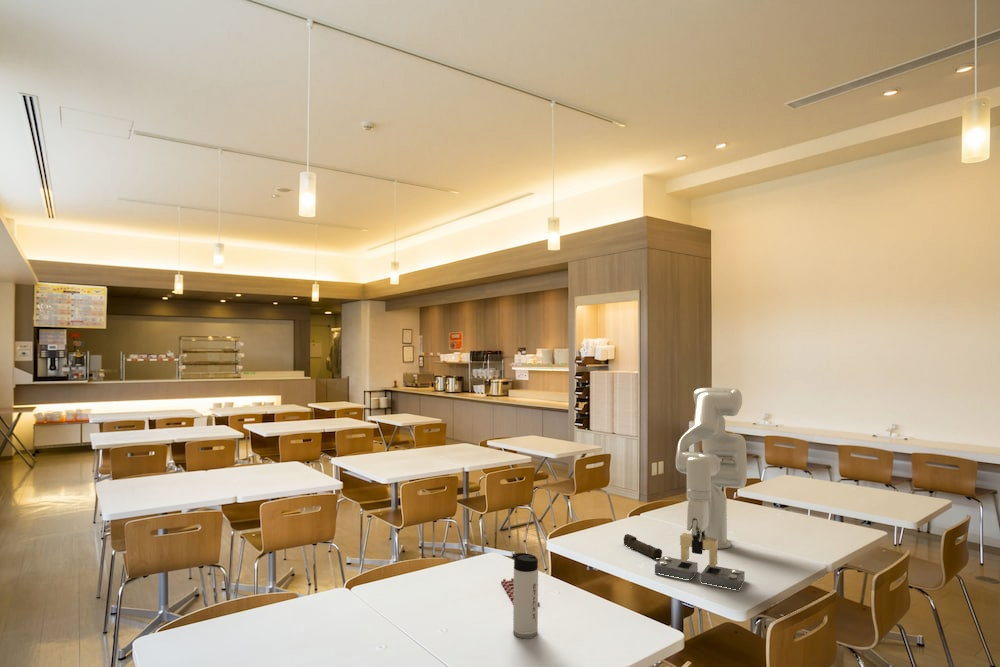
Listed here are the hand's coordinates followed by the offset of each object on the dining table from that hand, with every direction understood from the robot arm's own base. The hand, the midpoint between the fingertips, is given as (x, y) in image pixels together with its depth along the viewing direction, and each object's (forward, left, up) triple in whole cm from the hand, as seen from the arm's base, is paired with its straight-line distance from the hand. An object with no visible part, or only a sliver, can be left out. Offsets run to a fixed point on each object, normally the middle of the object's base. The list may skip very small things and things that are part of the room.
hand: (698, 550), depth 192 cm
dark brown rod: (-14, -25, -9) cm, 30 cm away
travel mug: (+65, -28, -9) cm, 71 cm away
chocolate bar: (+44, -42, -9) cm, 61 cm away
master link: (0, 0, -4) cm, 4 cm away
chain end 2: (0, +7, -9) cm, 11 cm away
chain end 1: (0, -7, -9) cm, 11 cm away
